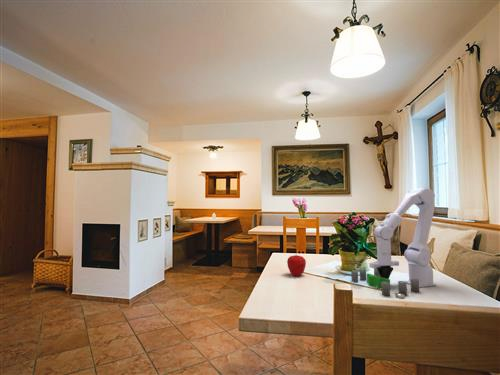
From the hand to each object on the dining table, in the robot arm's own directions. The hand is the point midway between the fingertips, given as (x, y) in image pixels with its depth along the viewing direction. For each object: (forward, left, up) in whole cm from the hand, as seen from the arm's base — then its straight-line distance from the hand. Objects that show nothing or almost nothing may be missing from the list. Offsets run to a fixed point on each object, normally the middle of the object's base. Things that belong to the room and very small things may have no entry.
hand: (385, 282), depth 120 cm
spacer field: (+1, +1, -1) cm, 2 cm away
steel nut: (+5, +14, -2) cm, 15 cm away
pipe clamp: (+5, 0, -2) cm, 5 cm away
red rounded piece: (+30, -28, -1) cm, 41 cm away
